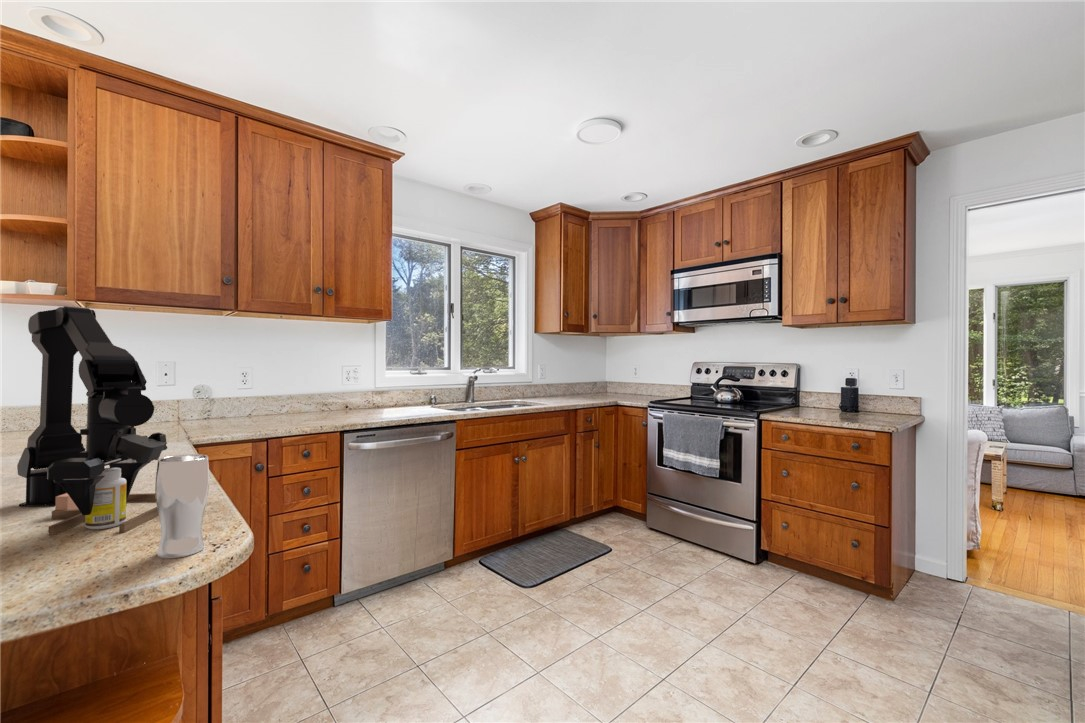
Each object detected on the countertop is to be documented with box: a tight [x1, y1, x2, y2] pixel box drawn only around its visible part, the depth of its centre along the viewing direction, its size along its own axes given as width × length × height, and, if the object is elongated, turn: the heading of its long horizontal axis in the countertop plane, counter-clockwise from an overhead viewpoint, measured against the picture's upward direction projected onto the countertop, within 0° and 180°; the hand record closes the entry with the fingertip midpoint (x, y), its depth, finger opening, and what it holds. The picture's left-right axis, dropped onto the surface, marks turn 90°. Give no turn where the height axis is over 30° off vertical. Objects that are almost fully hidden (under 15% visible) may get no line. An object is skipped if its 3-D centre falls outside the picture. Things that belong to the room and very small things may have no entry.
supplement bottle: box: [84, 467, 127, 530], centre depth 88 cm, size 6×6×10 cm
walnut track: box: [47, 492, 159, 536], centre depth 93 cm, size 18×21×2 cm
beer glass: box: [154, 453, 210, 560], centre depth 77 cm, size 7×7×15 cm
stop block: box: [54, 493, 78, 510], centre depth 97 cm, size 2×10×4 cm, turn 10°
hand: (106, 507), depth 88 cm, fingers open, 9 cm apart
